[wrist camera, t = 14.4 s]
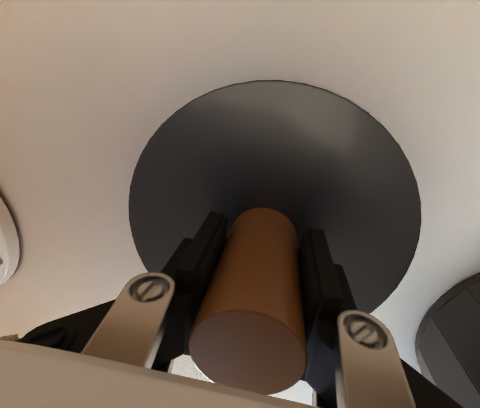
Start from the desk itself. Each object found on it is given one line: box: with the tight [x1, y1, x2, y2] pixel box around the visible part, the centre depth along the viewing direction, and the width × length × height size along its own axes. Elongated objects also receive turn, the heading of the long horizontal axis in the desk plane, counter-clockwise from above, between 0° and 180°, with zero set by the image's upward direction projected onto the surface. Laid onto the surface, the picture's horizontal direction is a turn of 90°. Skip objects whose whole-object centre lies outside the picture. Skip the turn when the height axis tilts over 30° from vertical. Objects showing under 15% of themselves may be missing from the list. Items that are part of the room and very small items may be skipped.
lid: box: [129, 80, 421, 395], centre depth 10 cm, size 13×13×7 cm
